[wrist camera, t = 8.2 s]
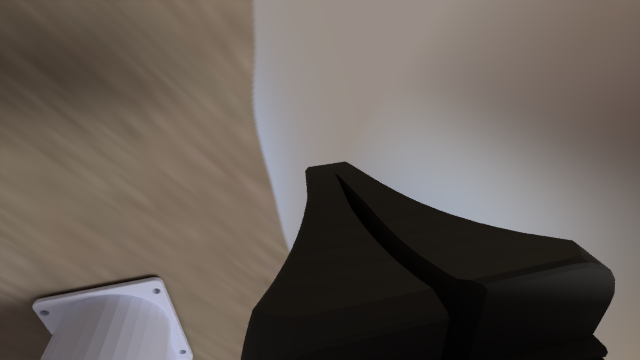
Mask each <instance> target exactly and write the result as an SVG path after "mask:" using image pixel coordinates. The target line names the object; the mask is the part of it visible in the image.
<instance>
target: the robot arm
mask: <svg viewBox="0 0 640 360" xmlns="http://www.w3.org/2000/svg"><path fill="white" fill-rule="evenodd" d="M305 173H306V183H307V184H306V185H307V203H306V208H305V212H304V217H303V220H302V224H301V227H300V230H299V233H298V235H297V238H296V240H295V243H294V245H293V248H292V249H291V252H290V254H289V256H288V258H287V260H286V261H285V263H284V265H283V266H282V268H281V270H280V272H279V273H278V275H277V277H276V278H275V280H274V281H273V283H272V284H271V286H270V287H269V289H268V290H267V291H266V293H265V294H264V295H263V297H262V298H261V299H260V301H259V302H258V303H257V305H256V306H255V307H254V309H253V311H252V314H251V318H250V321H249V325H248V328H247V332H246V336H245V340H244V345H243V350H242V355H241V360H604V359H603V358H602V357H606V355H607V353H608V351H607V349H606V347H605V346H604V345H603V344H602V343H601V342H600V341H599V340H598V339H597V338H596V337H595V336H594V335H593V333H594V331H595V330H596V328H597V326H598V324H599V323H600V321H601V319H602V317H603V316H604V314H605V312H606V310H607V308H608V307H609V305H610V303H611V300H612V298H613V295H614V289H615V279H614V276H613V274H612V272H611V270H610V269H609V268H607V267H606V266H605V265H603V264H602V263H601V262H600V261H598V260H597V259H596V258H595V257H593V256H592V255H590V254H589V253H588V252H587V251H586V250H584V249H583V248H582V247H580V246H579V245H578V244H576V243H575V242H574V241H572V240H565V239H560V238H553V237H547V236H540V235H534V234H527V233H522V232H517V231H512V230H508V229H503V228H498V227H494V226H490V225H486V224H482V223H478V222H474V221H471V220H468V219H464V218H461V217H458V216H454V215H451V214H449V213H446V212H443V211H440V210H437V209H435V208H432V207H430V206H427V205H425V204H422V203H420V202H417V201H415V200H413V199H411V198H409V197H407V196H405V195H403V194H401V193H399V192H397V191H395V190H393V189H391V188H389V187H388V186H386V185H384V184H382V183H380V182H379V181H377V180H375V179H374V178H372V177H370V176H369V175H367V174H365V173H364V172H362V171H361V170H359V169H357V168H356V167H354V166H352V165H351V164H349V163H347V162H339V163H333V164H326V165H319V166H313V167H308V168H307V170H306V171H305ZM156 289H159V290H156ZM32 308H33V310H34V311H35V313H36V314H37V315H38V317H39V318H40V319H41V321H42V322H43V323H44V325H45V326H46V328H47V329H48V330H49V332H50V333H51V334H52V337H51V339H50V341H49V343H48V345H47V347H46V349H45V351H44V353H43V355H42V357H41V359H40V360H192V358H193V354H192V351H191V349H190V346H189V344H188V341H187V339H186V337H185V334H184V332H183V329H182V327H181V324H180V322H179V320H178V317H177V315H176V312H175V310H174V307H173V305H172V302H171V300H170V298H169V295H168V293H167V290H166V288H165V285H164V283H163V281H162V279H160V278H158V277H152V278H147V279H141V280H136V281H131V282H125V283H120V284H115V285H109V286H104V287H99V288H94V289H88V290H83V291H78V292H72V293H67V294H62V295H57V296H51V297H46V298H41V299H37V300H36V301H35V302H34V304H33V306H32ZM45 310H46V311H45Z"/></svg>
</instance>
